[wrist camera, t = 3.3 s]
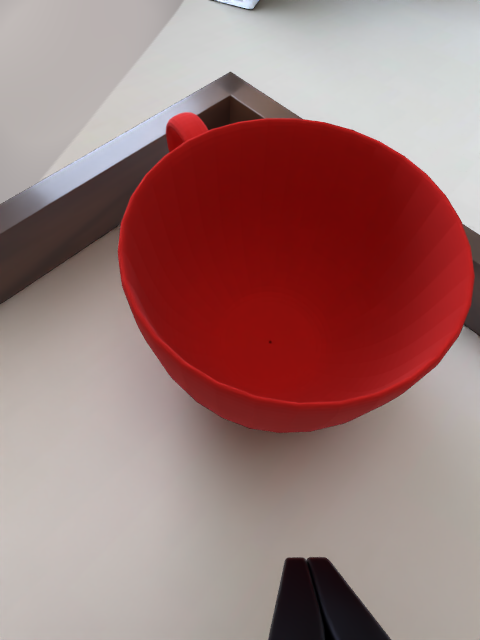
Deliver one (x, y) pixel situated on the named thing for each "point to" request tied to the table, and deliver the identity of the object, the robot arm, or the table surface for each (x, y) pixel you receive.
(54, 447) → the table surface
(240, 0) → the ink box
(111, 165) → the corner guide
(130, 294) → the ceramic cup
